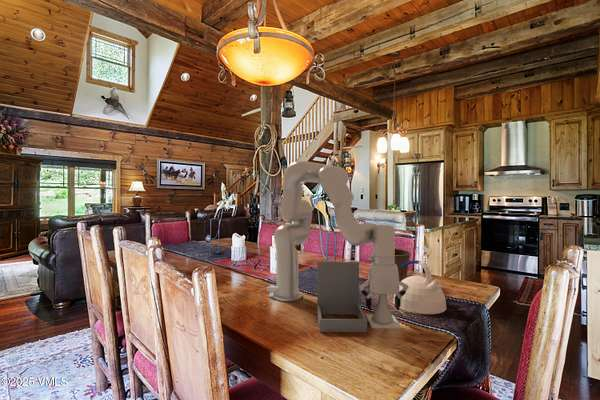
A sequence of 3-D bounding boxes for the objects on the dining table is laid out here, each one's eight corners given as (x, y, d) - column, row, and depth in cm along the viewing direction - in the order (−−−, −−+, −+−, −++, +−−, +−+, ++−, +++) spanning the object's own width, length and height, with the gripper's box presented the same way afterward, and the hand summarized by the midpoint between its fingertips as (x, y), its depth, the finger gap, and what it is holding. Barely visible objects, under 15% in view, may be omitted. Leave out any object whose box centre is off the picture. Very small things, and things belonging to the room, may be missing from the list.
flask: (381, 326, 105) (381, 297, 104) (367, 318, 111) (367, 291, 111) (397, 322, 108) (398, 294, 108) (383, 315, 114) (383, 288, 114)
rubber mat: (371, 328, 104) (371, 326, 104) (365, 316, 114) (365, 315, 114) (401, 328, 104) (401, 327, 104) (393, 316, 114) (393, 315, 114)
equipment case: (319, 331, 102) (319, 272, 101) (317, 312, 118) (317, 261, 118) (367, 332, 102) (367, 272, 101) (358, 312, 118) (358, 261, 117)
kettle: (418, 318, 113) (418, 269, 112) (382, 300, 132) (382, 257, 131) (459, 310, 120) (459, 264, 120) (420, 294, 140) (420, 254, 139)
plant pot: (415, 288, 147) (415, 254, 146) (381, 288, 147) (381, 254, 147) (404, 279, 163) (404, 248, 163) (373, 278, 163) (373, 248, 163)
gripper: (360, 262, 105) (360, 312, 106) (411, 262, 105) (411, 313, 105) (356, 258, 113) (356, 304, 113) (404, 258, 112) (404, 304, 113)
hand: (383, 308), depth 109 cm, fingers open, 9 cm apart
